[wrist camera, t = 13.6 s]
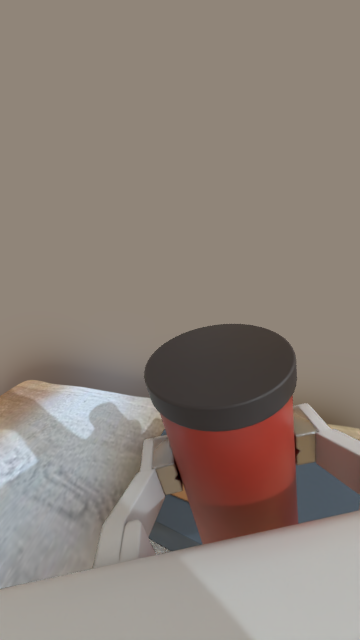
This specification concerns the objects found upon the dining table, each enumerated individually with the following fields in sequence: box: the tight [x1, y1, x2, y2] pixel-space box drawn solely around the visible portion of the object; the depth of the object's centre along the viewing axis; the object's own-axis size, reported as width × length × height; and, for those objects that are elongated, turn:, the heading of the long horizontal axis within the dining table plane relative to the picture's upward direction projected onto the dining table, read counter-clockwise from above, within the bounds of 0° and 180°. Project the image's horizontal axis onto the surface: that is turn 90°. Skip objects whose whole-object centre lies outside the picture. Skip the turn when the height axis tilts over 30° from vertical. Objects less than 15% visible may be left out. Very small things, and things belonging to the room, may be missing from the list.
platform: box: [148, 429, 360, 551], centre depth 23 cm, size 23×12×5 cm, turn 65°
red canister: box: [144, 324, 298, 544], centre depth 10 cm, size 6×6×11 cm
